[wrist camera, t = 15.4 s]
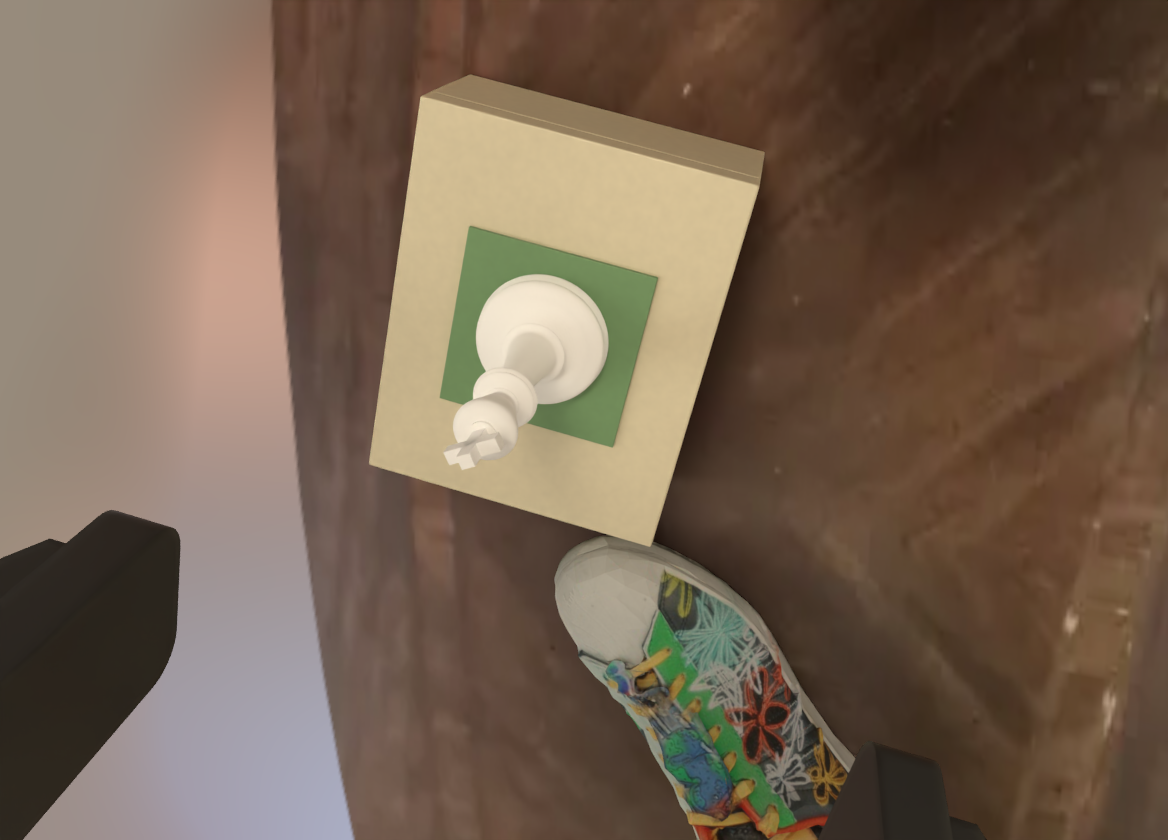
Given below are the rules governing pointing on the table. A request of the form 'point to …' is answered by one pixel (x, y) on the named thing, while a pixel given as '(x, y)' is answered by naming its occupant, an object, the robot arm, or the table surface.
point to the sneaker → (703, 690)
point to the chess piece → (527, 362)
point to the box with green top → (576, 254)
